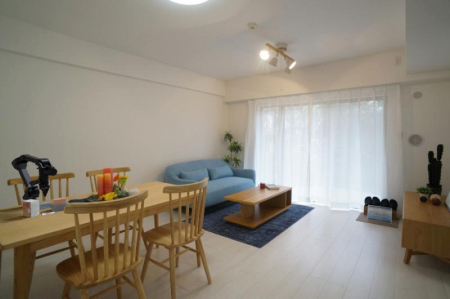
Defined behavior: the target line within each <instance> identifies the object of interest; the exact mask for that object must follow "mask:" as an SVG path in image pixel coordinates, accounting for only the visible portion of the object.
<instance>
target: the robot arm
mask: <svg viewBox="0 0 450 299" xmlns="http://www.w3.org/2000/svg"><path fill="white" fill-rule="evenodd" d="M29 162H30V163H32V164H34V165H35V166H36V168H35V169H36V170H38V178H36V179H33V180H32V179H31V176H30V174H29V171H28V169H27V166H28V163H29ZM11 165H12V168H13V169H15V170H16V171H18V173H19V176H20V178H21V180H22V183H23V185H24V187H25V189H24V193H23V195H22V200H23V201H26V200H30V199H32V200H37V198H39V197H40V194H41V191H42V194H43V197H44V198H46V197H47V195H48V193H49V190H50V188H51V184H50V181H49V179H50V178H49V176H50V177H55V176H56V175H58V170H57V168H56V167H55V166H54V165H53V164H52V162H51V161H50V160H49V158H46V157H37V156H33V155H30V154H29V153H28V154H27V153H26V154H20V156H17V157H15V158H14V159H12V161H11Z"/></svg>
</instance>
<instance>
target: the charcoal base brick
mask: <svg viewBox="0 0 450 299" xmlns="http://www.w3.org/2000/svg"><path fill="white" fill-rule="evenodd" d="M68 204H69V202H68V201H66V204H63V205H56V206H54V205H53V203H51V208H50V210H51V211H50V212H61V211H65V210H64V207H65V206H66V205H68Z"/></svg>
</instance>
